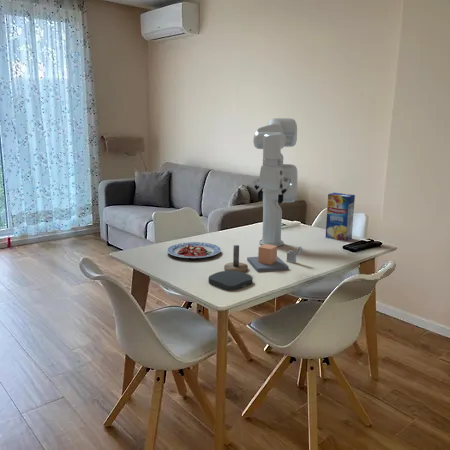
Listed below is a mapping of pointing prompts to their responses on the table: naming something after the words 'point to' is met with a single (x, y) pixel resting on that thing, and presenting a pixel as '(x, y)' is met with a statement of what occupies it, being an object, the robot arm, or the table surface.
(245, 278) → the media streaming box
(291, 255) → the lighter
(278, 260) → the mat
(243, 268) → the round pedestal stand
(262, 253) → the peach cube block
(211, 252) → the ceramic plate
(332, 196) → the juice carton
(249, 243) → the table surface
